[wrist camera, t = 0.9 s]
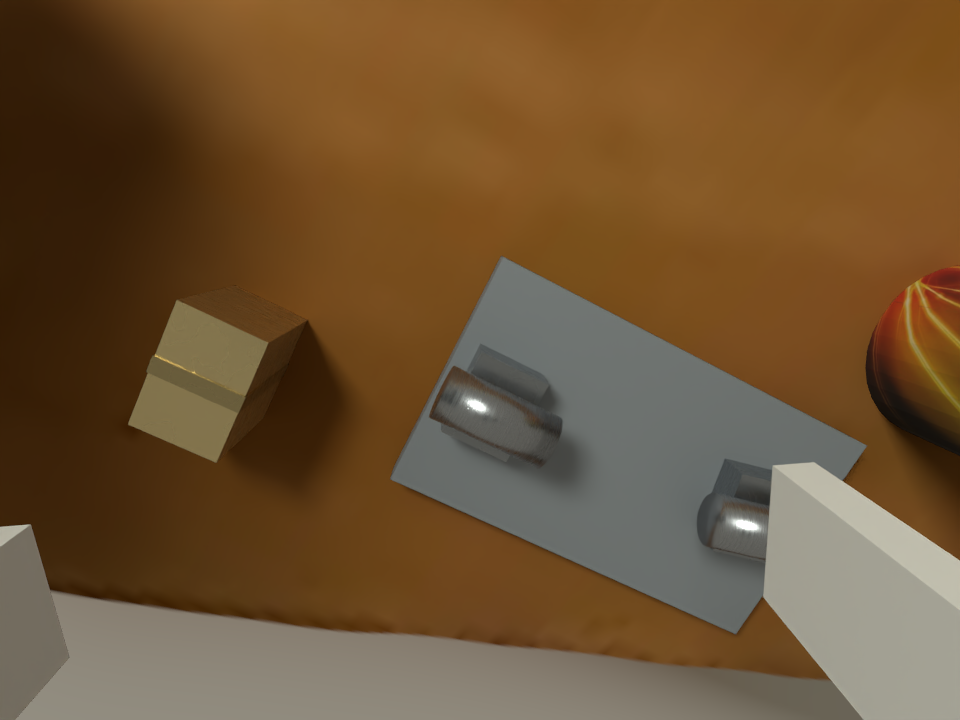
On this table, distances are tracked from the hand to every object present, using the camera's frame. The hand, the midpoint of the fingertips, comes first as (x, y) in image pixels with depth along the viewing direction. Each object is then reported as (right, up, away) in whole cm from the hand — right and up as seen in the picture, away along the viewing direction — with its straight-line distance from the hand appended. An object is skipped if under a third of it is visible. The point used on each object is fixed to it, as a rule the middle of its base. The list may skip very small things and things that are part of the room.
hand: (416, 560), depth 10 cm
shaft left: (+2, +2, +19) cm, 19 cm away
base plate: (+9, -2, +21) cm, 23 cm away
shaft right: (+15, -4, +21) cm, 26 cm away
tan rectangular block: (-11, +4, +20) cm, 23 cm away
